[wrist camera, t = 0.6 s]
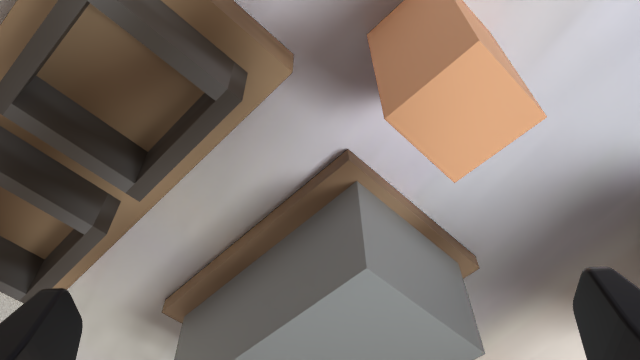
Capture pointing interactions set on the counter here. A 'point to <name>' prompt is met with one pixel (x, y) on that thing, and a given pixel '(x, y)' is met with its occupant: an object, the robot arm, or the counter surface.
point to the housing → (340, 295)
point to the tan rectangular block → (449, 84)
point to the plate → (295, 214)
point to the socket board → (113, 119)
